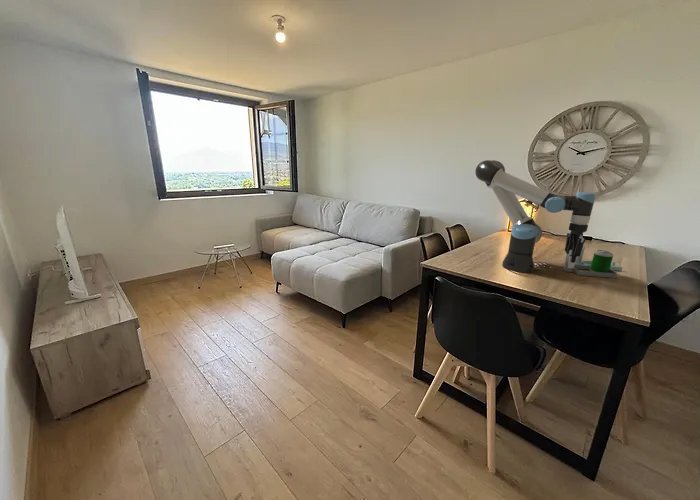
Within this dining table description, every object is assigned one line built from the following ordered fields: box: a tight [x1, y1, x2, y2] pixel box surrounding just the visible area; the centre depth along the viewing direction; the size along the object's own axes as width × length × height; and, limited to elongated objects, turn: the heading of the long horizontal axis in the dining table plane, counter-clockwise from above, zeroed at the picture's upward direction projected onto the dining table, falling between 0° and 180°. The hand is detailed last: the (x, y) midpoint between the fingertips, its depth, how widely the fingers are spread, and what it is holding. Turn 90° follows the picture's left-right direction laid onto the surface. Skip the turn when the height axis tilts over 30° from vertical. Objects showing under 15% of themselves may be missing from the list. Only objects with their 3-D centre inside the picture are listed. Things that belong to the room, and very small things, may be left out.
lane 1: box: [562, 250, 618, 279], centre depth 151 cm, size 21×12×11 cm, turn 78°
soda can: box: [589, 249, 614, 273], centre depth 150 cm, size 8×8×12 cm
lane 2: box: [575, 245, 623, 272], centre depth 160 cm, size 21×9×11 cm, turn 78°
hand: (568, 266), depth 153 cm, fingers closed on lane 1, 3 cm apart
